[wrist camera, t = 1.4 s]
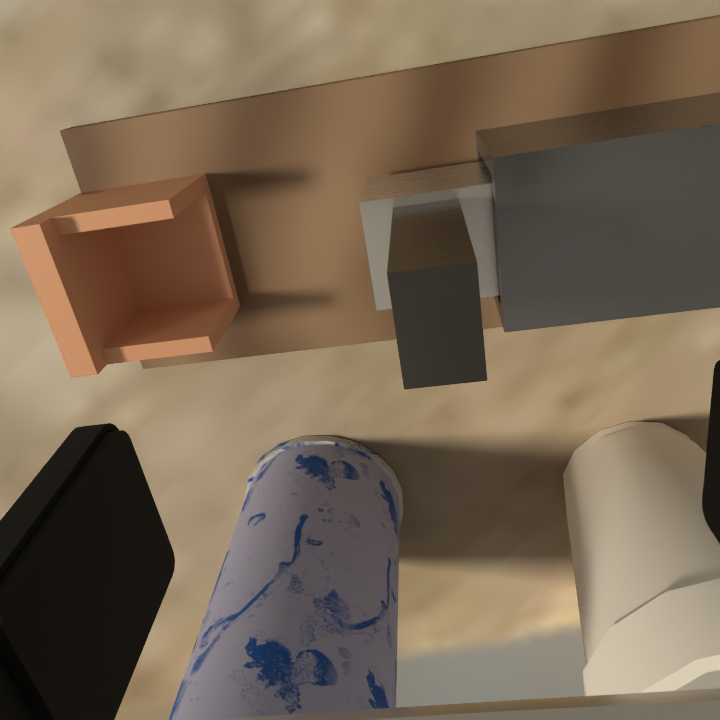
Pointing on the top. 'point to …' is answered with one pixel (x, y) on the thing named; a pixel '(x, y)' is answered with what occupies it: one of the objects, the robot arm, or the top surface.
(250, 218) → the track board
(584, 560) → the foam cup
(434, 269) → the square sliding rod
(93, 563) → the robot arm
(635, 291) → the outer sleeve
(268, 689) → the aerosol can
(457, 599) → the top surface
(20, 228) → the socket block
